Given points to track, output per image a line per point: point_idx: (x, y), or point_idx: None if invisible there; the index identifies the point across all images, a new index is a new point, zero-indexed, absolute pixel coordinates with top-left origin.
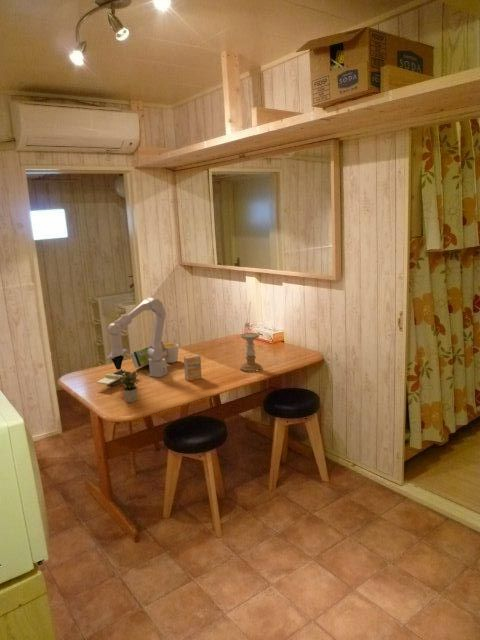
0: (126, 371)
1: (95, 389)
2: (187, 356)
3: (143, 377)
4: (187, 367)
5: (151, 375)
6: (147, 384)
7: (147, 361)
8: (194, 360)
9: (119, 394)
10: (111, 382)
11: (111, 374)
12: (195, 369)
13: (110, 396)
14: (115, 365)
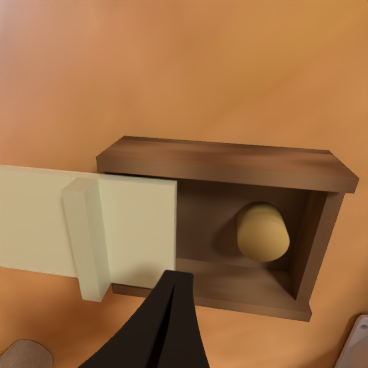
0: (325, 234)
1: (10, 126)
2: None
3: (320, 305)
4: None
5: (348, 345)
6: (210, 355)
7: None
8: None
9: (44, 294)
10: (36, 267)
11: (89, 243)
12: None
13: (3, 269)
14: (144, 309)
